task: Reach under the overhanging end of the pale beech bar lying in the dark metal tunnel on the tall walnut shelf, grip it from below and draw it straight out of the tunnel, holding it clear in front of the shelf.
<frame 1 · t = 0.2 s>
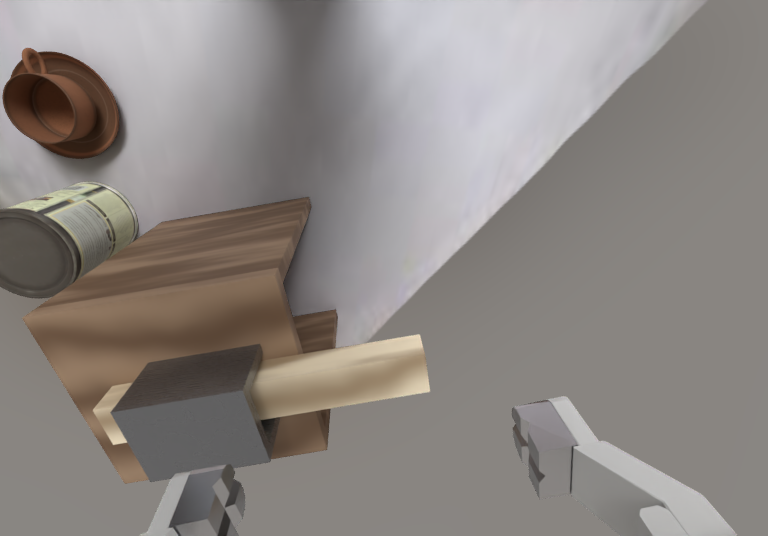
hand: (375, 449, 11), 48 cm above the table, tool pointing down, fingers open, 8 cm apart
cup and saucer: (75, 107, 50), on the table
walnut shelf: (255, 272, 61), on the table
coffee can: (100, 217, 56), on the table
metal tunnel: (218, 386, 37), resting on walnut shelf
beech bar: (271, 377, 37), point 26 cm above the table, touching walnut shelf
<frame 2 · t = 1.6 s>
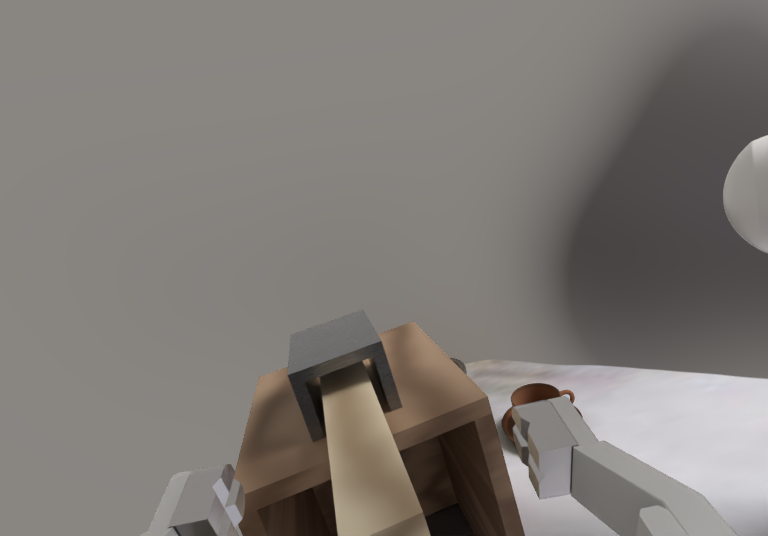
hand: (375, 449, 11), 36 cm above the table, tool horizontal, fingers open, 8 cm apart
cup and saucer: (543, 431, 63), on the table
metal tunnel: (350, 396, 37), resting on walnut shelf
beech bar: (358, 424, 32), point 26 cm above the table, touching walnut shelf
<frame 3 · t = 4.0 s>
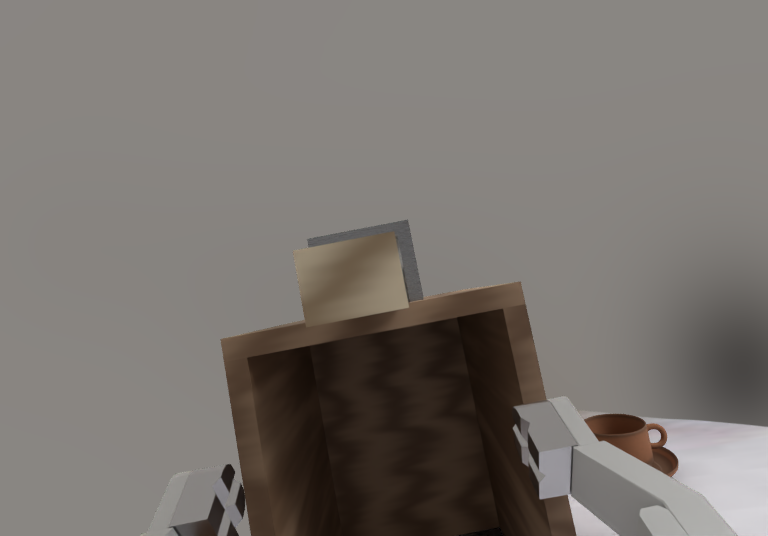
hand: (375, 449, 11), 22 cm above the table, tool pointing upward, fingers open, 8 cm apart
cup and saucer: (623, 475, 50), on the table
metal tunnel: (374, 307, 34), resting on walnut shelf
beech bar: (372, 309, 29), point 26 cm above the table, touching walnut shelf
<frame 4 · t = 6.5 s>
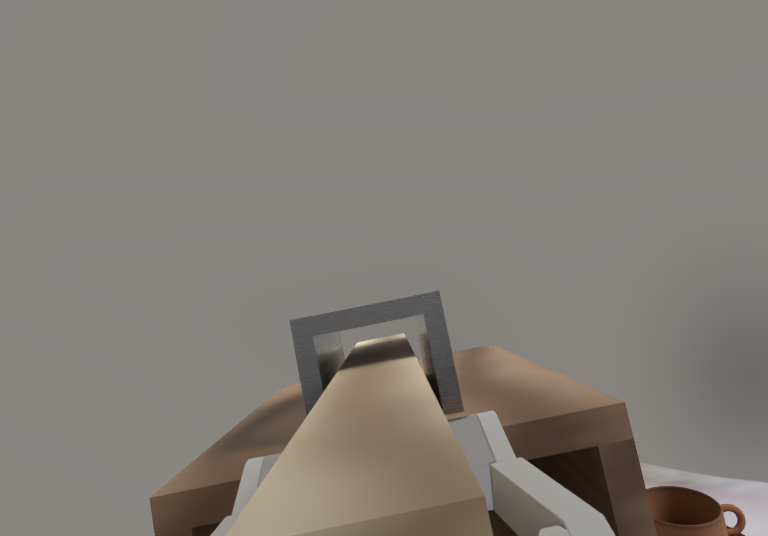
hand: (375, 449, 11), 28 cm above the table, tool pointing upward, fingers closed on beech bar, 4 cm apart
metal tunnel: (387, 400, 25), resting on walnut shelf
beech bar: (388, 426, 20), point 26 cm above the table, touching gripper, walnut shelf
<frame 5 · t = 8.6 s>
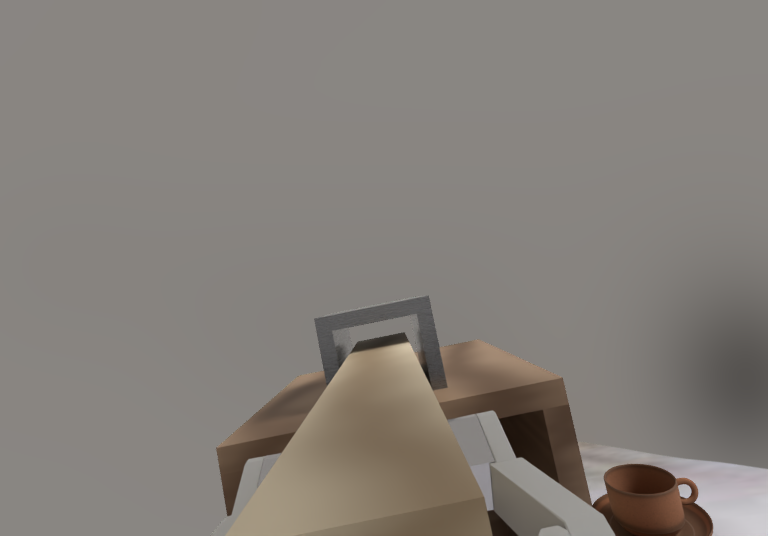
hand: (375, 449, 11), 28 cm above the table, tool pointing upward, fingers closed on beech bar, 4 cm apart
cup and saucer: (652, 533, 47), on the table
metal tunnel: (389, 382, 31), resting on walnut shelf
beech bar: (388, 425, 20), point 26 cm above the table, touching gripper
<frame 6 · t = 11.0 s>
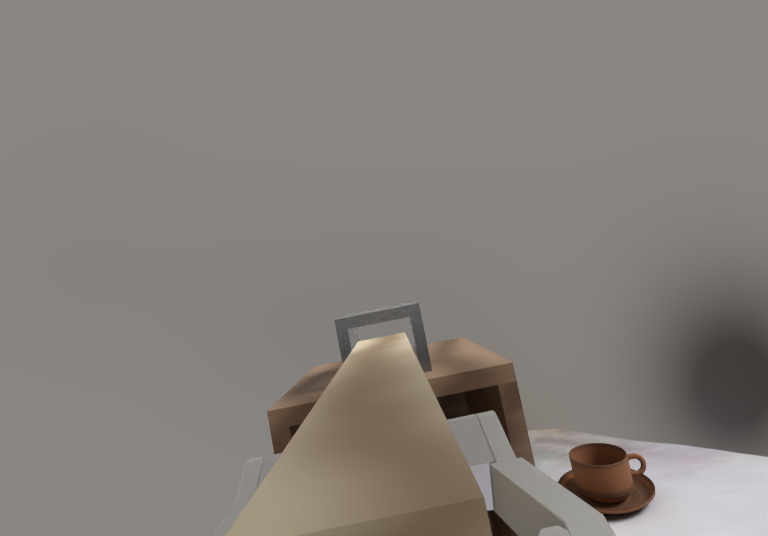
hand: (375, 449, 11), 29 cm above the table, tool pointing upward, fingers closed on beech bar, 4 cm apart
cup and saucer: (607, 500, 56), on the table
metal tunnel: (389, 369, 40), resting on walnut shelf
beech bar: (388, 425, 20), point 27 cm above the table, touching gripper
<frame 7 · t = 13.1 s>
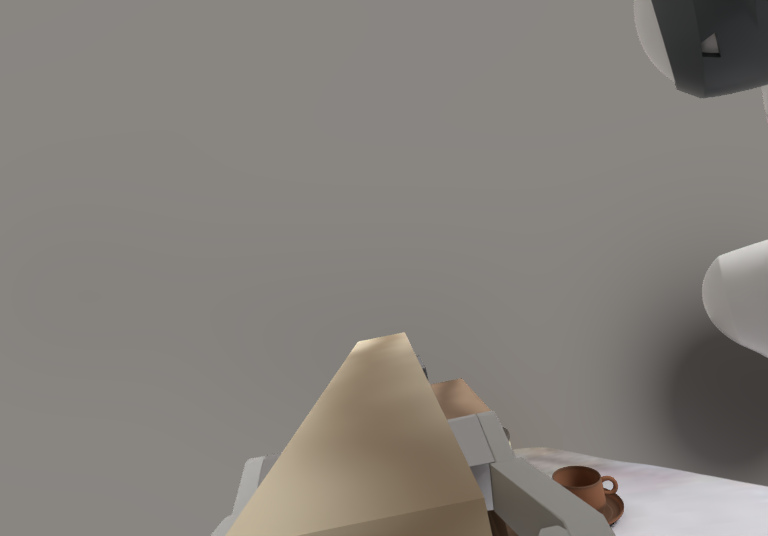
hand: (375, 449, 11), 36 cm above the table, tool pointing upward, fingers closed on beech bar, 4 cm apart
cup and saucer: (585, 515, 65), on the table
beech bar: (388, 425, 20), point 34 cm above the table, touching gripper
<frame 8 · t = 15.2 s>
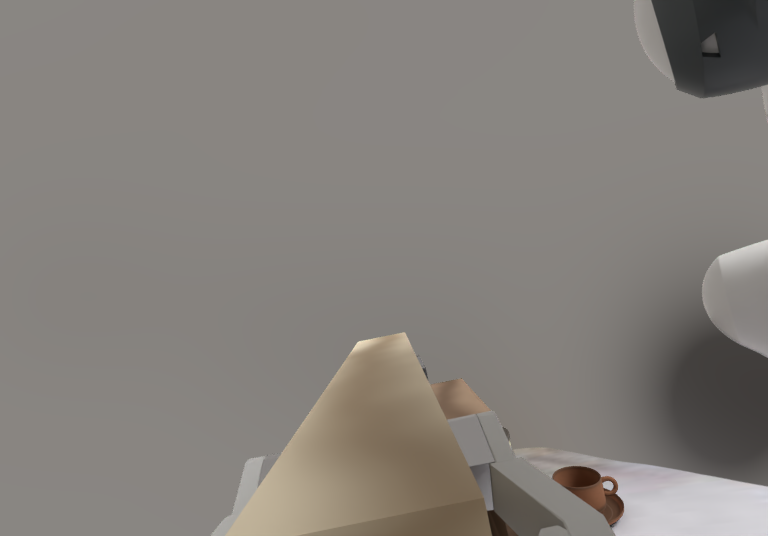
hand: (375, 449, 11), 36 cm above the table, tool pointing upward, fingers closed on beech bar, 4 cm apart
cup and saucer: (585, 516, 65), on the table
beech bar: (388, 425, 20), point 34 cm above the table, touching gripper
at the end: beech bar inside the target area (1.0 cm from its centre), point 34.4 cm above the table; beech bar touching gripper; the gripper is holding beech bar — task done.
